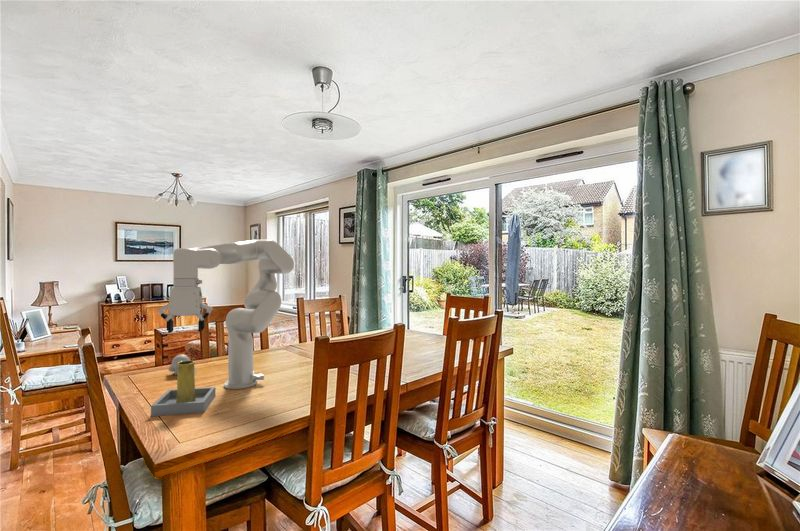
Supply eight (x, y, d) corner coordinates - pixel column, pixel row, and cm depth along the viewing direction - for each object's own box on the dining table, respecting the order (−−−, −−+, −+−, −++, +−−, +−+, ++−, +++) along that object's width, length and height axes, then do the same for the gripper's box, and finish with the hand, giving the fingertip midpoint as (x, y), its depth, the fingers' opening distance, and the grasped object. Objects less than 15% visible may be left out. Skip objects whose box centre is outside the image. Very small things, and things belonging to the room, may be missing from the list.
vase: (186, 406, 132) (187, 365, 132) (171, 404, 133) (171, 364, 133) (199, 400, 138) (199, 360, 138) (184, 398, 139) (184, 359, 139)
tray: (215, 396, 145) (215, 386, 145) (203, 412, 130) (204, 402, 130) (168, 399, 142) (168, 389, 142) (150, 416, 126) (150, 405, 126)
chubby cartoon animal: (185, 383, 168) (191, 366, 167) (164, 370, 171) (170, 353, 170) (198, 378, 175) (203, 361, 174) (178, 366, 178) (183, 349, 177)
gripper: (214, 282, 141) (214, 329, 141) (162, 282, 137) (162, 330, 137) (209, 283, 133) (209, 332, 134) (154, 284, 130) (154, 334, 130)
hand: (185, 331), depth 135 cm, fingers open, 9 cm apart
